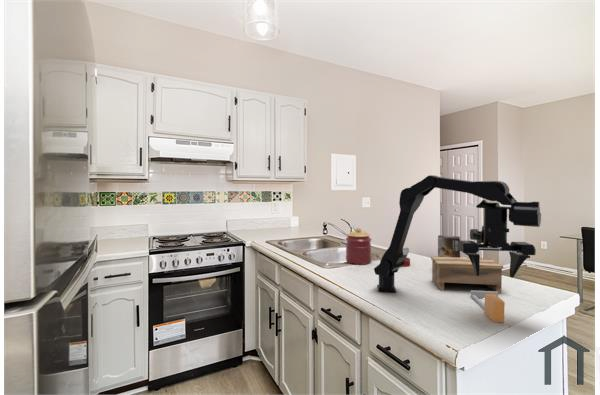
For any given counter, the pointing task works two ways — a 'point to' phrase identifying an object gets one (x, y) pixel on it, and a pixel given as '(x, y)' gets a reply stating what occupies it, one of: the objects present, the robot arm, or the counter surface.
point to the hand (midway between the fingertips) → (494, 276)
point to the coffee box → (448, 246)
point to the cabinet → (466, 272)
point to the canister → (358, 247)
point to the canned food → (407, 260)
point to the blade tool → (490, 304)
